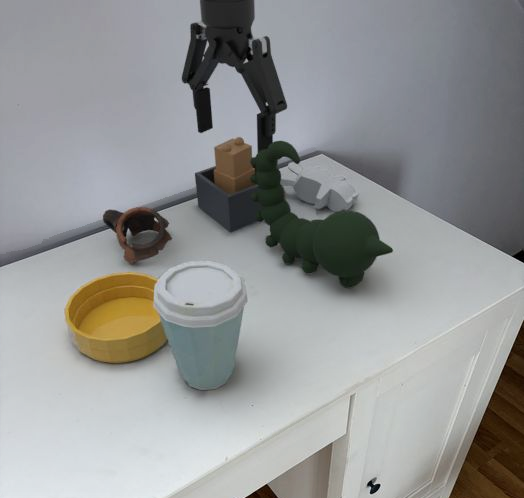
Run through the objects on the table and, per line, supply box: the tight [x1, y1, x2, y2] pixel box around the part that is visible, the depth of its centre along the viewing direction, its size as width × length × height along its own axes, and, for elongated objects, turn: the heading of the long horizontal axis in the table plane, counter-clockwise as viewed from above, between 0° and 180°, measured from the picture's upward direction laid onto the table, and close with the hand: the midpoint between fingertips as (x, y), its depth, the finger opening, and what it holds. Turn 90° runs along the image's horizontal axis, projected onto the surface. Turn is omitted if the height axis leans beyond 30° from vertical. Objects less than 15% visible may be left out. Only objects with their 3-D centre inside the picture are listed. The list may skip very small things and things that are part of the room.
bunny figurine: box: [280, 161, 360, 213], centre depth 101 cm, size 10×5×15 cm
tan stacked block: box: [213, 136, 255, 194], centre depth 96 cm, size 5×5×12 cm
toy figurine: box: [250, 140, 394, 289], centre depth 82 cm, size 9×19×25 cm
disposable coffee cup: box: [153, 260, 249, 391], centre depth 67 cm, size 11×11×15 cm
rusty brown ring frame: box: [102, 206, 173, 265], centre depth 91 cm, size 12×10×8 cm
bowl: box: [64, 271, 168, 364], centre depth 77 cm, size 14×14×4 cm
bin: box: [194, 165, 262, 233], centre depth 98 cm, size 10×10×7 cm
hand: (234, 141), depth 92 cm, fingers open, 13 cm apart
